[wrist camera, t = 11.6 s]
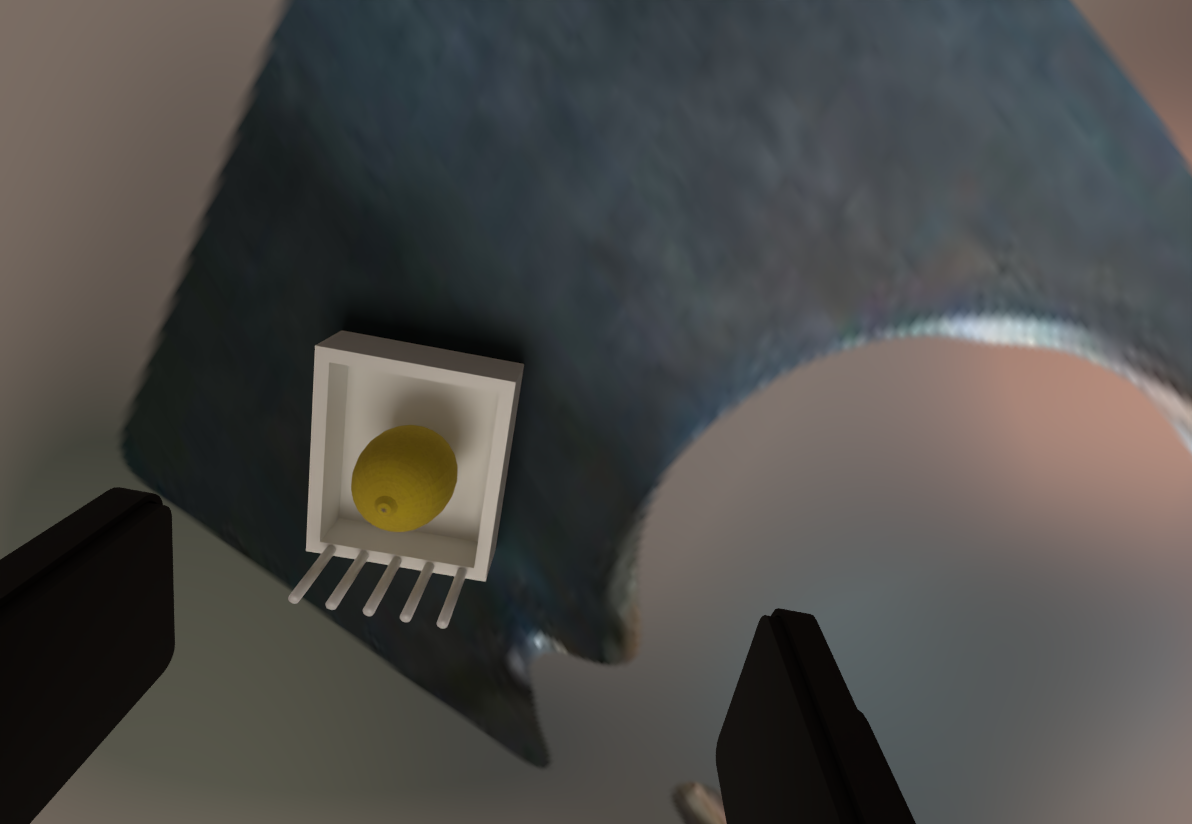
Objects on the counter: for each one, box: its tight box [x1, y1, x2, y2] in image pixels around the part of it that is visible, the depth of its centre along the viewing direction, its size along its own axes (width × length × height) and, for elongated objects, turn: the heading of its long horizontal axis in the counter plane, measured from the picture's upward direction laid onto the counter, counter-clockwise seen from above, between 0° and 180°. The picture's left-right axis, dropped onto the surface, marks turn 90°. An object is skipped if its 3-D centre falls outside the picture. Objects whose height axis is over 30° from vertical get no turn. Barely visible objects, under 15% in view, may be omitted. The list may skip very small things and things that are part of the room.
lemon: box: [351, 425, 458, 532], centre depth 37 cm, size 6×6×8 cm
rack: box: [288, 330, 524, 628], centre depth 38 cm, size 13×11×9 cm
